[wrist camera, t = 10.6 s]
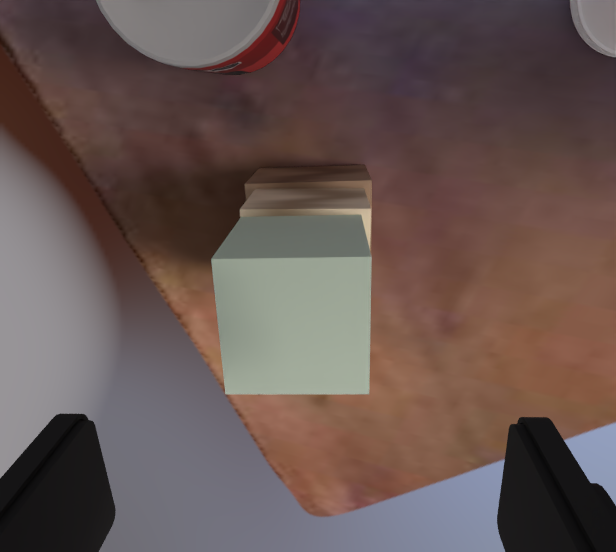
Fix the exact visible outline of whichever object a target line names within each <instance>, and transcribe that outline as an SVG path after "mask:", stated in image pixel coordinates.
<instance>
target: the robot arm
mask: <svg viewBox="0 0 616 552" xmlns="http://www.w3.org/2000/svg"><path fill="white" fill-rule="evenodd" d="M114 519H115V505H114V501H113V497H112V493H111V489H110V485H109V481H108V476H107V472H106V468H105V464H104V461H103V456H102V452H101V448H100V444H99V440H98V436H97V432H96V428H95V424H94V422H93V421H90V420H88V418H87V417H86V415H84V414H58V415H56V416H55V417H54V418H53V419H52V420H51V421H50V422H49V424H48V425H47V426H46V427H45V428H44V429H43V430H42V431H41V433H40V434H39V435H38V436H37V437H36V438H35V439H34V441H33V442H32V443H31V444H30V445H29V446H28V448H27V449H26V450H25V451H24V452H23V453H22V454H21V456H20V457H19V458H18V459H17V460H16V461H15V462H14V464H13V465H12V466H11V467H10V468H9V470H7V472H6V473H5V474H4V475H3V476H2V477H1V478H0V552H99V550H100V548H101V546H102V544H103V542H104V540H105V538H106V536H107V534H108V533H109V531H110V529H111V527H112V524H113V522H114ZM497 524H498V530H499V534H500V538H501V540H502V543H503V546H504V549H505V552H616V506H615V504H614V502H613V501H612V499H611V498H610V496H609V495H608V493H607V492H606V491H605V490H604V488H603V487H602V486H600V485H599V484H597V483H590V482H589V480H588V479H587V477H586V475H585V474H584V472H583V471H582V469H581V467H580V466H579V464H578V462H577V461H576V460H575V458H574V456H573V455H572V453H571V451H570V450H569V448H568V447H567V445H566V443H565V442H564V440H563V438H562V437H561V435H560V434H559V432H558V430H557V429H556V427H555V426H554V424H553V422H552V421H551V420H550V419H549V418H547V417H521V418H519V420H518V423H517V424H511V425H510V427H509V433H508V440H507V448H506V455H505V463H504V470H503V479H502V485H501V493H500V500H499V508H498V515H497Z"/></svg>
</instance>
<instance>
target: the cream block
mask: <svg viewBox="0 0 616 552" xmlns="http://www.w3.org/2000/svg"><path fill="white" fill-rule="evenodd" d="M301 188H364V189H365V192H366V195H367V198H368V201H369V203H370V206H371V212H372V180H371V177H370V175H369V173H368V171H367V169H366V166H365V165H341V166H309V167H276V168H259V169H258V170H257V171H256V172H255V173H254V174H253V175H252V176H251V178H250V179H249V180H248V181H247V182H246V183H245V196H246V201H247V199H248V198H249V197H250V195H251V194H252V193H253V191H254V190H255V189H301ZM370 253H371V235H370Z"/></svg>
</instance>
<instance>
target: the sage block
mask: <svg viewBox="0 0 616 552" xmlns="http://www.w3.org/2000/svg"><path fill="white" fill-rule="evenodd" d="M371 258H372V257H371V253H370V249H369V244H368V240H367V236H366V232H365V228H364V224H363V220H362V216H361V215H311V216H258V217H241V218H240V219H239V221H238V222H237V223H236V225H235V226H234V228H233V229H232V230H231V232H230V233H229V235H228V236H227V237H226V239H225V240H224V242H223V243H222V244H221V246H220V247H219V249H218V250H217V252H216V253H215V254H214V256H213V257H212V259H211V263H212V272H213V281H214V291H215V300H216V309H217V319H218V328H219V337H220V347H221V356H222V365H223V375H224V384H225V393H226V394H369V372H370V315H371Z"/></svg>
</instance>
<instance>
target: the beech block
mask: <svg viewBox="0 0 616 552" xmlns="http://www.w3.org/2000/svg"><path fill="white" fill-rule="evenodd" d="M311 215H361V216H362V220H363V224H364V228H365V232H366V236H367V240H368V244H369V249H370V235H371V206H370V203H369V201H368V198H367V195H366V192H365V189H364V188H301V189H255V190H254V191H253V193H252V194H251V195H250V197H249V198H248V199H247V201H246V202H245V203H244V204H243V206H242V207H241V208H240V218H241V217H258V216H311Z"/></svg>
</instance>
